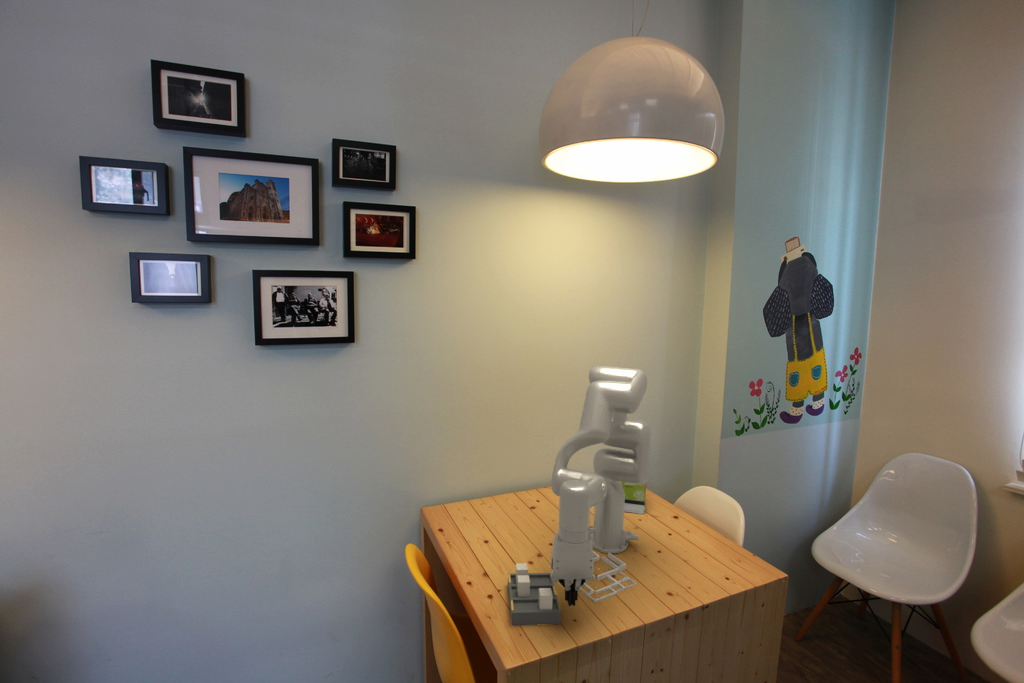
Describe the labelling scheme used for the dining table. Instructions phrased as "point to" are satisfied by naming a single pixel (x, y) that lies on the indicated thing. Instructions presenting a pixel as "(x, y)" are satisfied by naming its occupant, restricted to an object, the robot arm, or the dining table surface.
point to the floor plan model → (608, 575)
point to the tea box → (634, 497)
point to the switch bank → (532, 602)
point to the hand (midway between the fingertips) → (570, 602)
